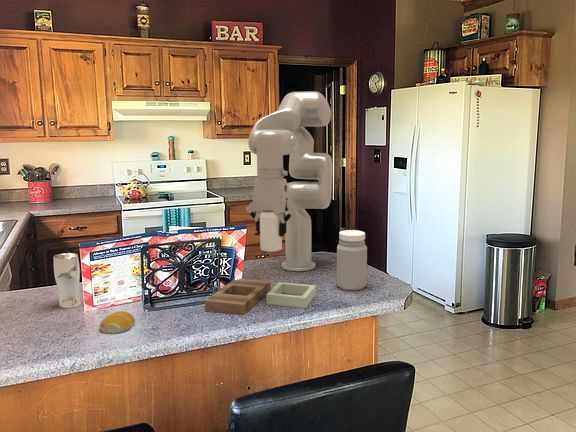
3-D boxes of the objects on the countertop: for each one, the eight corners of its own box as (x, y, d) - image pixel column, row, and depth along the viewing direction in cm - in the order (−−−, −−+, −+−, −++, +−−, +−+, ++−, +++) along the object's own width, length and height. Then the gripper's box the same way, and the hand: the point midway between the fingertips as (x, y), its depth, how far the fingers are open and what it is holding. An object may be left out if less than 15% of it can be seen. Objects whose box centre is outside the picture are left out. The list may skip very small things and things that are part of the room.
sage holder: (279, 291, 164) (279, 282, 163) (316, 294, 160) (316, 285, 160) (266, 303, 152) (266, 294, 152) (305, 308, 149) (305, 298, 148)
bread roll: (138, 321, 141) (138, 307, 140) (125, 334, 132) (124, 320, 131) (109, 320, 141) (108, 306, 141) (94, 333, 133) (93, 319, 132)
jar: (363, 292, 162) (364, 236, 158) (333, 289, 165) (333, 234, 161) (368, 283, 171) (369, 230, 167) (339, 280, 174) (340, 228, 170)
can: (272, 253, 149) (271, 213, 147) (255, 250, 153) (254, 210, 151) (286, 248, 154) (285, 209, 152) (270, 245, 158) (269, 207, 156)
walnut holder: (235, 287, 168) (235, 278, 168) (270, 290, 165) (270, 281, 164) (205, 310, 148) (204, 300, 147) (244, 314, 144) (243, 304, 143)
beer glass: (60, 301, 156) (55, 253, 153) (84, 299, 157) (80, 252, 155) (54, 309, 149) (50, 259, 147) (80, 307, 151) (76, 258, 148)
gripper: (302, 173, 150) (302, 234, 153) (248, 172, 156) (249, 230, 159) (294, 176, 143) (294, 239, 146) (237, 175, 149) (239, 235, 152)
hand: (271, 234), depth 153 cm, fingers closed on can, 6 cm apart
